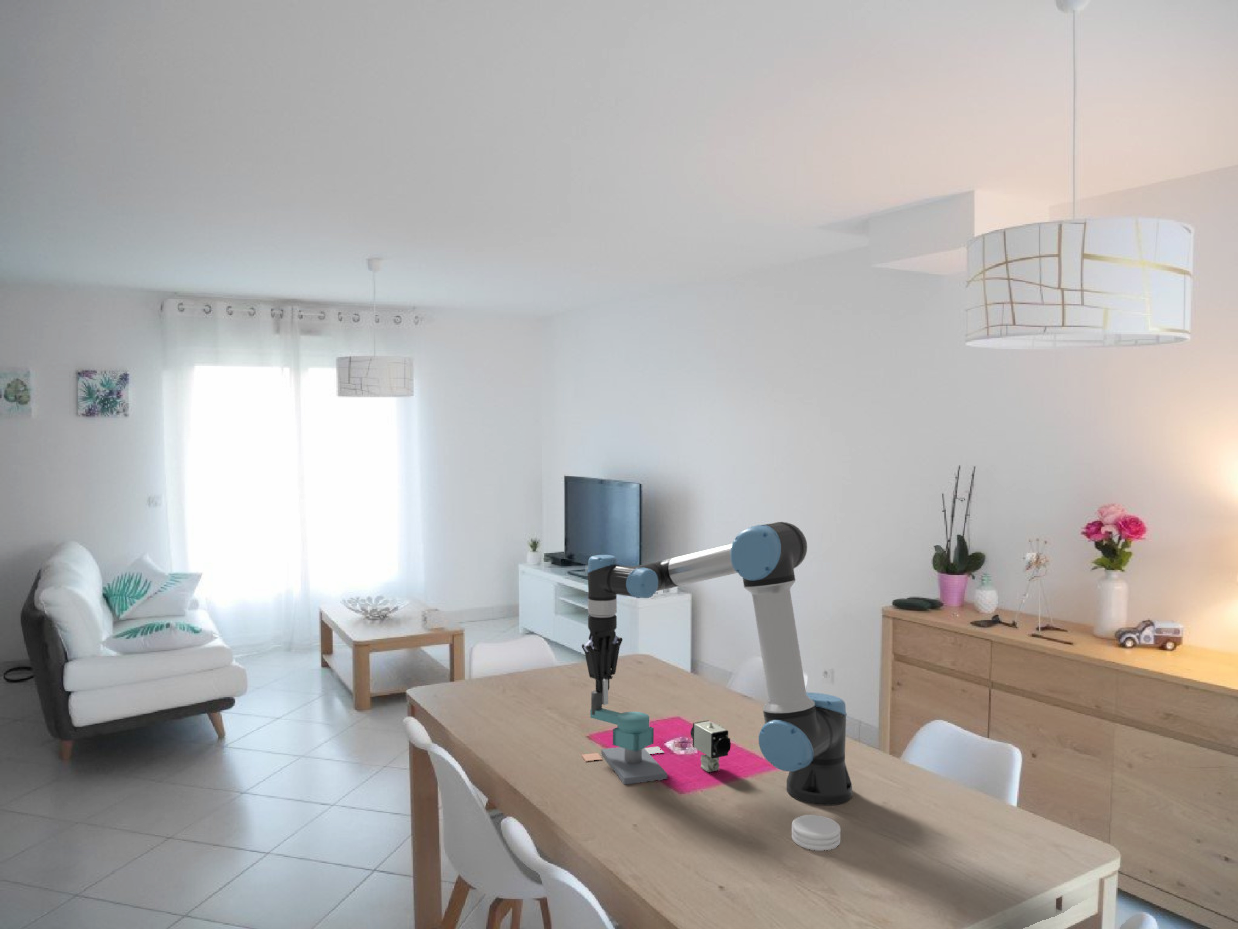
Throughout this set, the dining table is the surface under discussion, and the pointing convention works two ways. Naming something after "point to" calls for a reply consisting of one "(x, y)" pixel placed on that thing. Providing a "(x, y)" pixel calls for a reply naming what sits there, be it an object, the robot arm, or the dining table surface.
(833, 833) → the coaster
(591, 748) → the dining table surface
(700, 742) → the pneumatic valve
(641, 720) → the crank handle
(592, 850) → the dining table surface
